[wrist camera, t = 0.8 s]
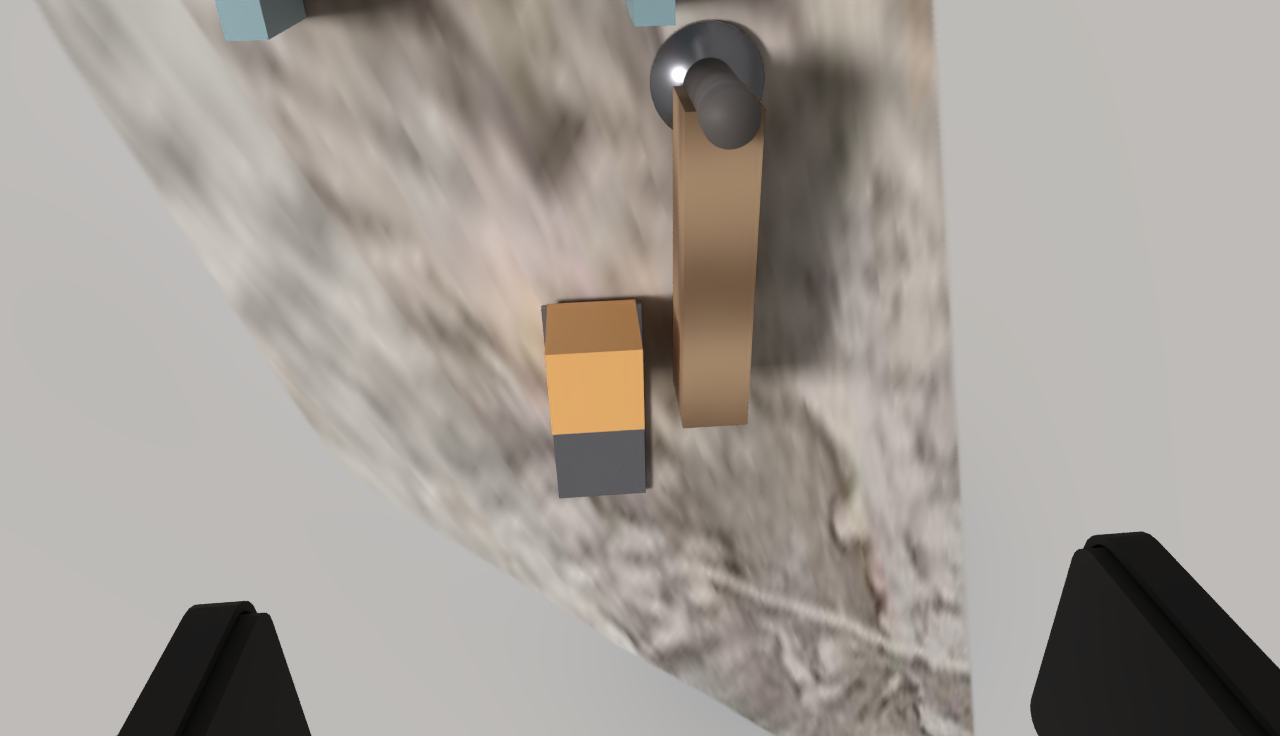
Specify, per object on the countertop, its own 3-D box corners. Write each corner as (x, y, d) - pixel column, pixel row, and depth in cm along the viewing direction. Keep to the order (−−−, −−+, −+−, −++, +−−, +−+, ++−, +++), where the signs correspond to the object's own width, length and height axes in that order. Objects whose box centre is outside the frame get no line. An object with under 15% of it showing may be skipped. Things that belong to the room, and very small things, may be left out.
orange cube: (547, 304, 33) (544, 355, 29) (634, 299, 33) (642, 349, 29) (553, 378, 34) (552, 434, 31) (637, 373, 35) (644, 429, 31)
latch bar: (673, 58, 28) (690, 90, 24) (745, 55, 28) (774, 86, 24) (673, 380, 35) (686, 445, 31) (731, 376, 35) (752, 441, 31)
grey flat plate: (541, 306, 33) (541, 309, 33) (640, 300, 33) (641, 303, 33) (559, 493, 38) (559, 498, 38) (645, 488, 38) (645, 492, 38)
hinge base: (648, 21, 28) (649, 23, 27) (765, 18, 28) (767, 19, 28) (650, 140, 30) (651, 142, 30) (759, 135, 30) (761, 137, 30)
